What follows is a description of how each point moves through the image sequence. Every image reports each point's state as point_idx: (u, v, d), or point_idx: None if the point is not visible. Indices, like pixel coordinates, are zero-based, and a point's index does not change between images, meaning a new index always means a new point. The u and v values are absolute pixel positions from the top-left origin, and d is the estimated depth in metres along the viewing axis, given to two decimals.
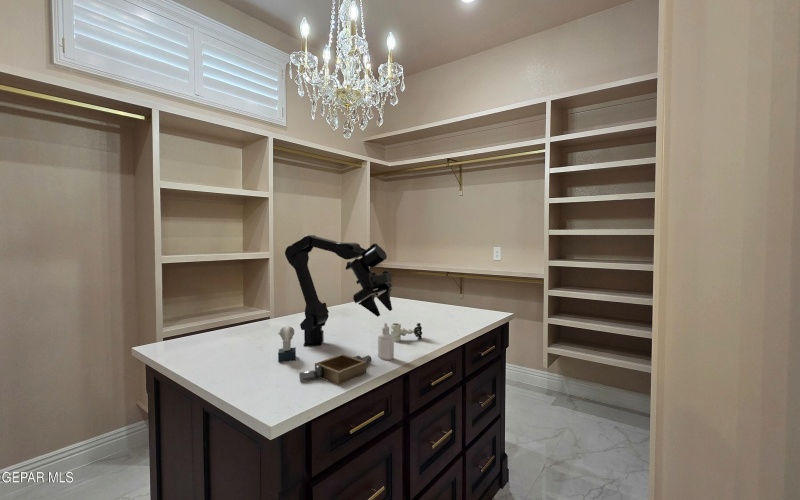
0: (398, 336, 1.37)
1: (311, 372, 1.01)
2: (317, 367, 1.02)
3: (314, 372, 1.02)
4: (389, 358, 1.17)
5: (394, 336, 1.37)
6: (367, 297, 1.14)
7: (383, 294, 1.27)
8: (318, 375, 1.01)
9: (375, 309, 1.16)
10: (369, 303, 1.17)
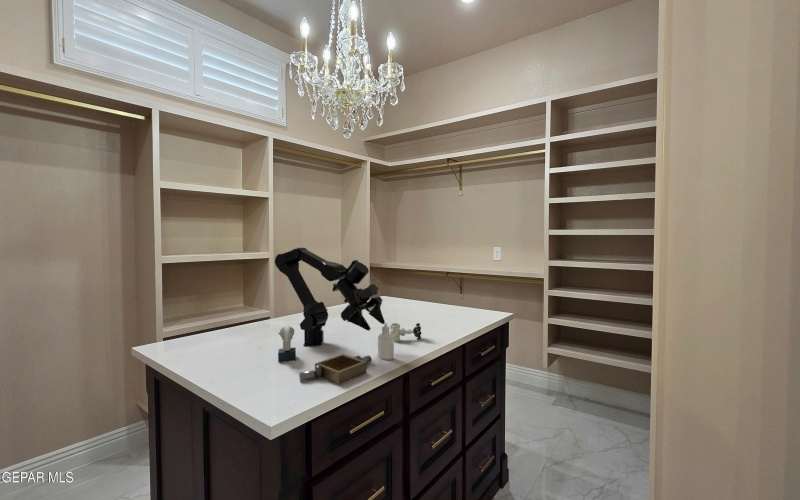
0: (397, 336, 1.37)
1: (311, 372, 1.01)
2: (317, 367, 1.02)
3: (314, 372, 1.02)
4: (389, 358, 1.17)
5: (393, 336, 1.37)
6: (354, 313, 1.15)
7: (374, 309, 1.27)
8: (318, 375, 1.01)
9: (364, 323, 1.16)
10: (358, 319, 1.17)
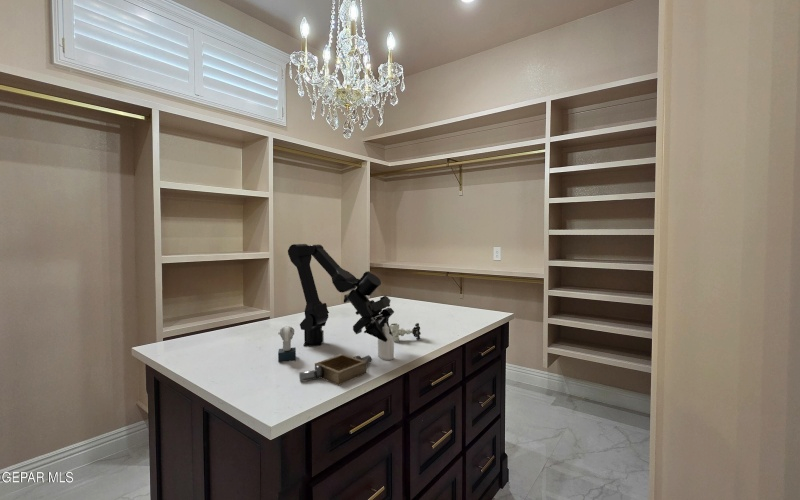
0: (396, 336, 1.37)
1: (311, 372, 1.01)
2: (317, 367, 1.02)
3: (314, 372, 1.02)
4: (389, 358, 1.17)
5: None
6: (371, 324, 1.15)
7: (381, 322, 1.22)
8: (318, 375, 1.01)
9: (381, 335, 1.16)
10: (374, 330, 1.17)
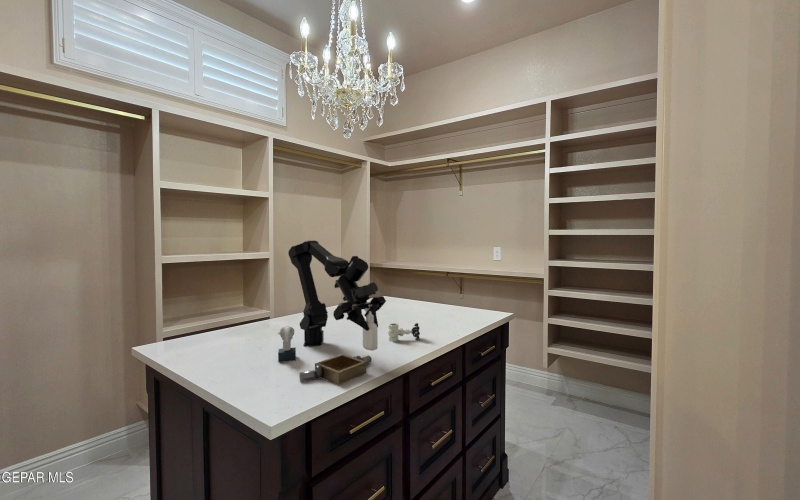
0: (396, 336, 1.37)
1: (311, 372, 1.01)
2: (317, 367, 1.02)
3: (314, 372, 1.02)
4: (371, 348, 1.10)
5: (392, 336, 1.36)
6: (352, 311, 1.09)
7: (369, 310, 1.15)
8: (318, 375, 1.01)
9: (363, 323, 1.10)
10: (357, 317, 1.11)
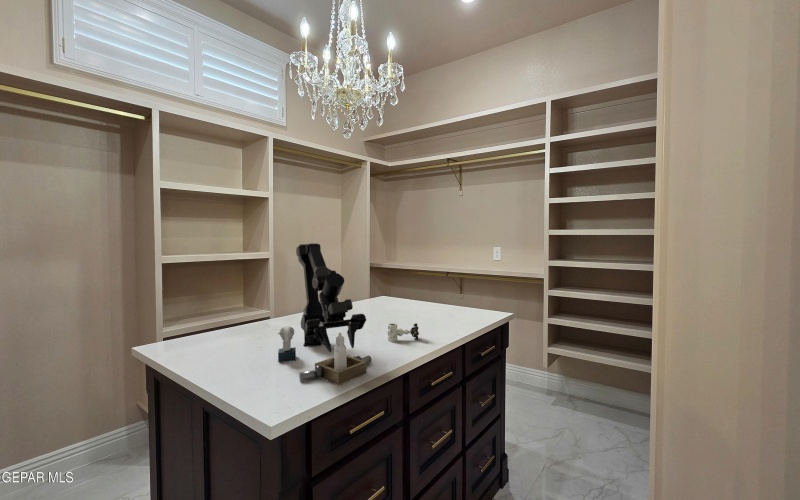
0: (395, 336, 1.37)
1: (311, 372, 1.01)
2: (317, 367, 1.02)
3: (314, 372, 1.02)
4: None
5: (391, 336, 1.36)
6: (315, 329, 1.04)
7: (349, 328, 1.10)
8: (318, 375, 1.01)
9: (326, 343, 1.03)
10: (323, 336, 1.05)
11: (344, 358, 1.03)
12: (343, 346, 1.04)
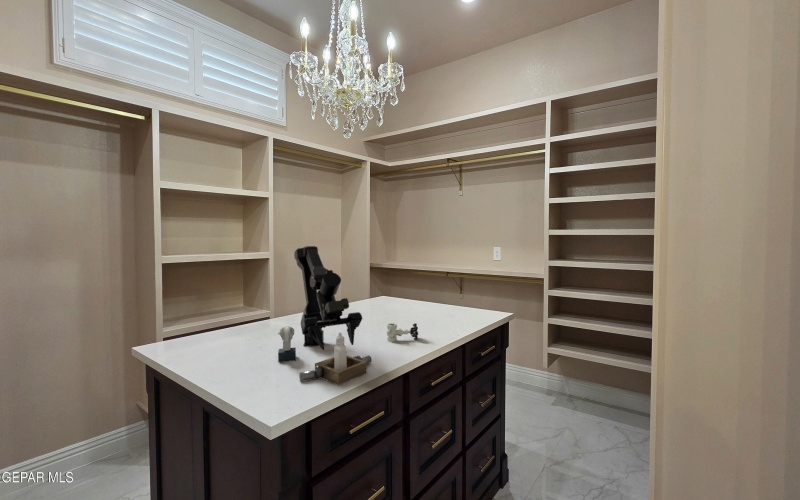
0: (394, 336, 1.37)
1: (311, 372, 1.01)
2: (317, 367, 1.02)
3: (314, 372, 1.02)
4: None
5: (390, 336, 1.36)
6: (309, 328, 1.06)
7: (349, 326, 1.13)
8: (318, 375, 1.01)
9: (319, 341, 1.05)
10: (316, 335, 1.07)
11: (344, 358, 1.03)
12: (343, 346, 1.04)
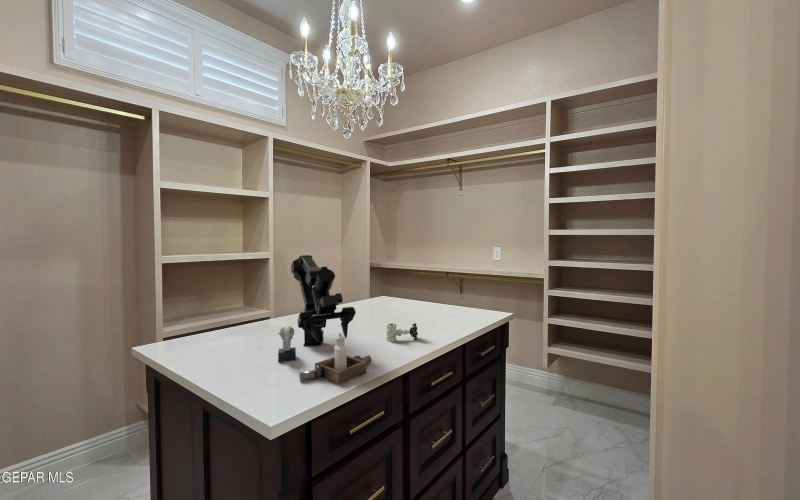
0: (393, 336, 1.36)
1: (311, 372, 1.01)
2: (317, 367, 1.02)
3: (314, 372, 1.02)
4: None
5: (389, 336, 1.36)
6: (304, 321, 1.12)
7: (343, 320, 1.18)
8: (318, 375, 1.01)
9: (314, 334, 1.11)
10: (311, 328, 1.13)
11: (344, 358, 1.03)
12: (343, 346, 1.04)
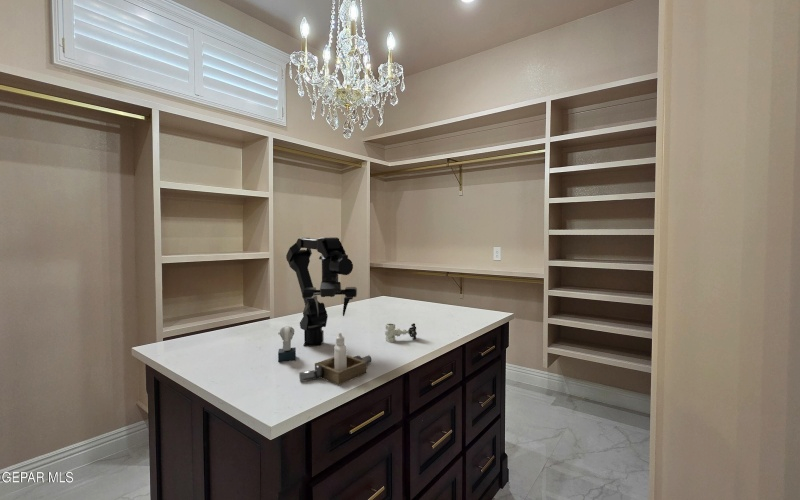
0: (392, 336, 1.36)
1: (311, 372, 1.01)
2: (317, 367, 1.02)
3: (314, 372, 1.02)
4: None
5: (388, 336, 1.36)
6: None
7: None
8: (318, 375, 1.01)
9: (314, 310, 1.24)
10: None
11: (344, 358, 1.03)
12: (343, 346, 1.04)
